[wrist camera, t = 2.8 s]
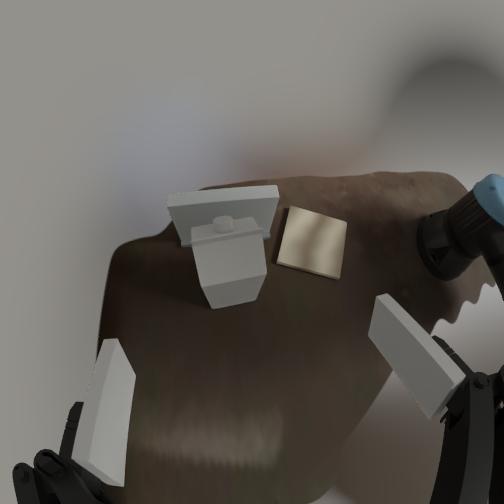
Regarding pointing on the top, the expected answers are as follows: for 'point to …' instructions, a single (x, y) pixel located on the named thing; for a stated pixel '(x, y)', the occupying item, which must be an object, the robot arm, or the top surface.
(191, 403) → the top surface
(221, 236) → the milk carton
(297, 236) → the birch board
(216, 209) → the grey screen
